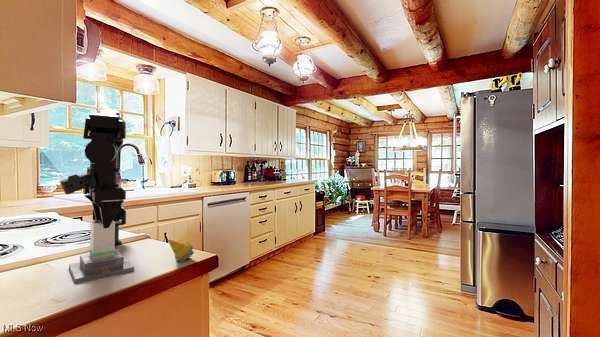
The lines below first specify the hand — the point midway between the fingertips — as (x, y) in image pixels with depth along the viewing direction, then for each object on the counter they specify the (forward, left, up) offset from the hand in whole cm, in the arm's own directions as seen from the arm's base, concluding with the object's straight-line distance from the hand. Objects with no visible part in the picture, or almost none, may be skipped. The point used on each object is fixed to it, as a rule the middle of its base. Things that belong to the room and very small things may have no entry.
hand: (102, 224), depth 73 cm
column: (0, 0, -8) cm, 8 cm away
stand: (0, 0, -12) cm, 12 cm away
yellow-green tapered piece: (+6, +18, -12) cm, 22 cm away
